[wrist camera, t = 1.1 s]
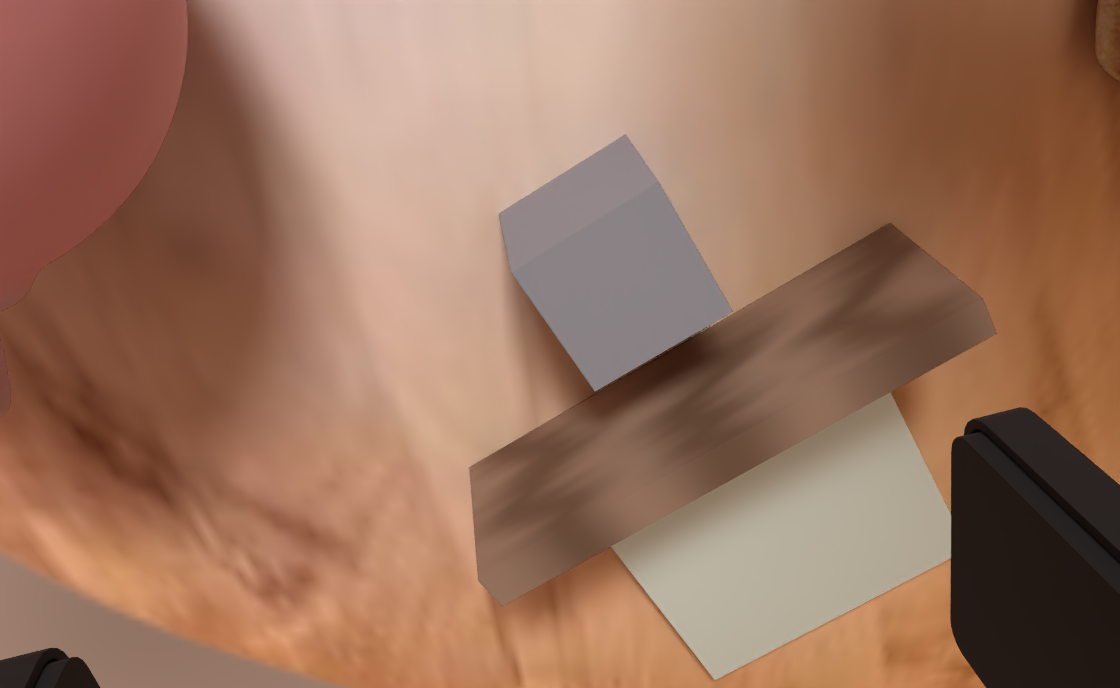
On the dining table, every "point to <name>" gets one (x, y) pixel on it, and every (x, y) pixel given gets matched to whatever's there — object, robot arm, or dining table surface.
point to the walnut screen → (718, 407)
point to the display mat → (795, 540)
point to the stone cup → (1108, 36)
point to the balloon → (77, 122)
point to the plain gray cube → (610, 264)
